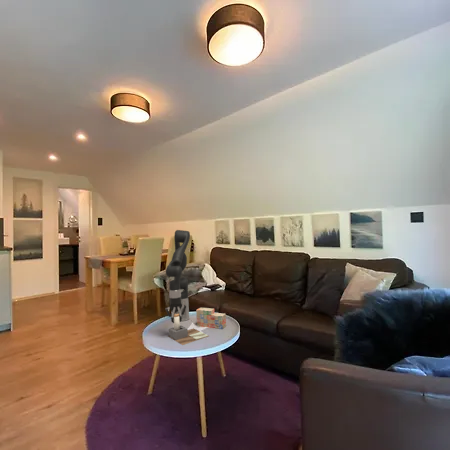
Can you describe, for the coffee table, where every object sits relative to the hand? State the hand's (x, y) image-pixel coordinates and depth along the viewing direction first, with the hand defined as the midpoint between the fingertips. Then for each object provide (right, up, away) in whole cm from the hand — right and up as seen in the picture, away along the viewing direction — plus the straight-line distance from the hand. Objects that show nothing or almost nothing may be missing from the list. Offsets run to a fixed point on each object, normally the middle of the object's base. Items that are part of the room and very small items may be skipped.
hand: (176, 321), depth 185 cm
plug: (0, -6, 0) cm, 6 cm away
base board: (+8, -11, -1) cm, 13 cm away
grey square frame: (+1, -9, 0) cm, 10 cm away
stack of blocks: (+22, -11, +20) cm, 32 cm away
